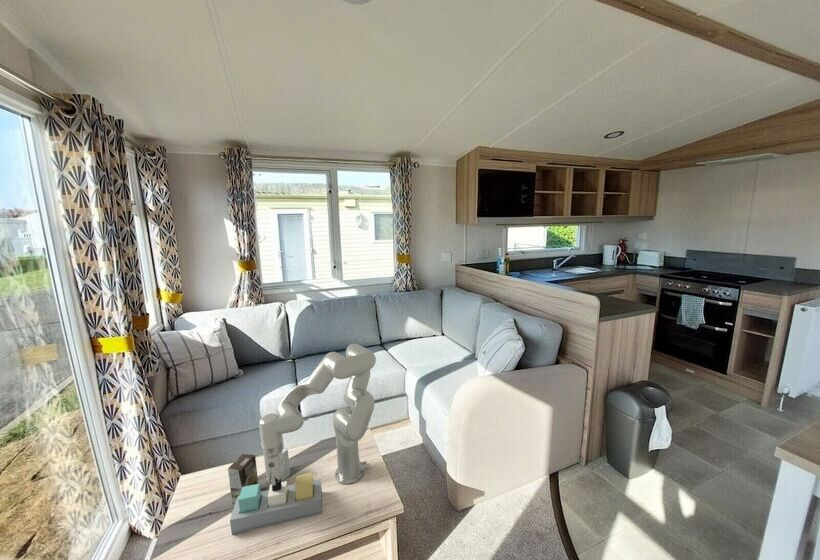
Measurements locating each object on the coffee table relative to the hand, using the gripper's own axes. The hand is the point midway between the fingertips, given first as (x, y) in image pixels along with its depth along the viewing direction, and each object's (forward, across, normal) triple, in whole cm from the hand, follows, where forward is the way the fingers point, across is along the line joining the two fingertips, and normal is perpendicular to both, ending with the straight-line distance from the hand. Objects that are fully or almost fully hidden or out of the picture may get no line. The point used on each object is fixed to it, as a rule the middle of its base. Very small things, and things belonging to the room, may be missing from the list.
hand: (277, 488), depth 127 cm
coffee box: (+11, +13, +15) cm, 22 cm away
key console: (+10, 0, 0) cm, 10 cm away
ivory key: (+7, 0, 0) cm, 7 cm away
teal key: (+6, 0, +10) cm, 11 cm away
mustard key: (+6, 0, -10) cm, 12 cm away
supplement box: (+11, +20, +3) cm, 23 cm away
